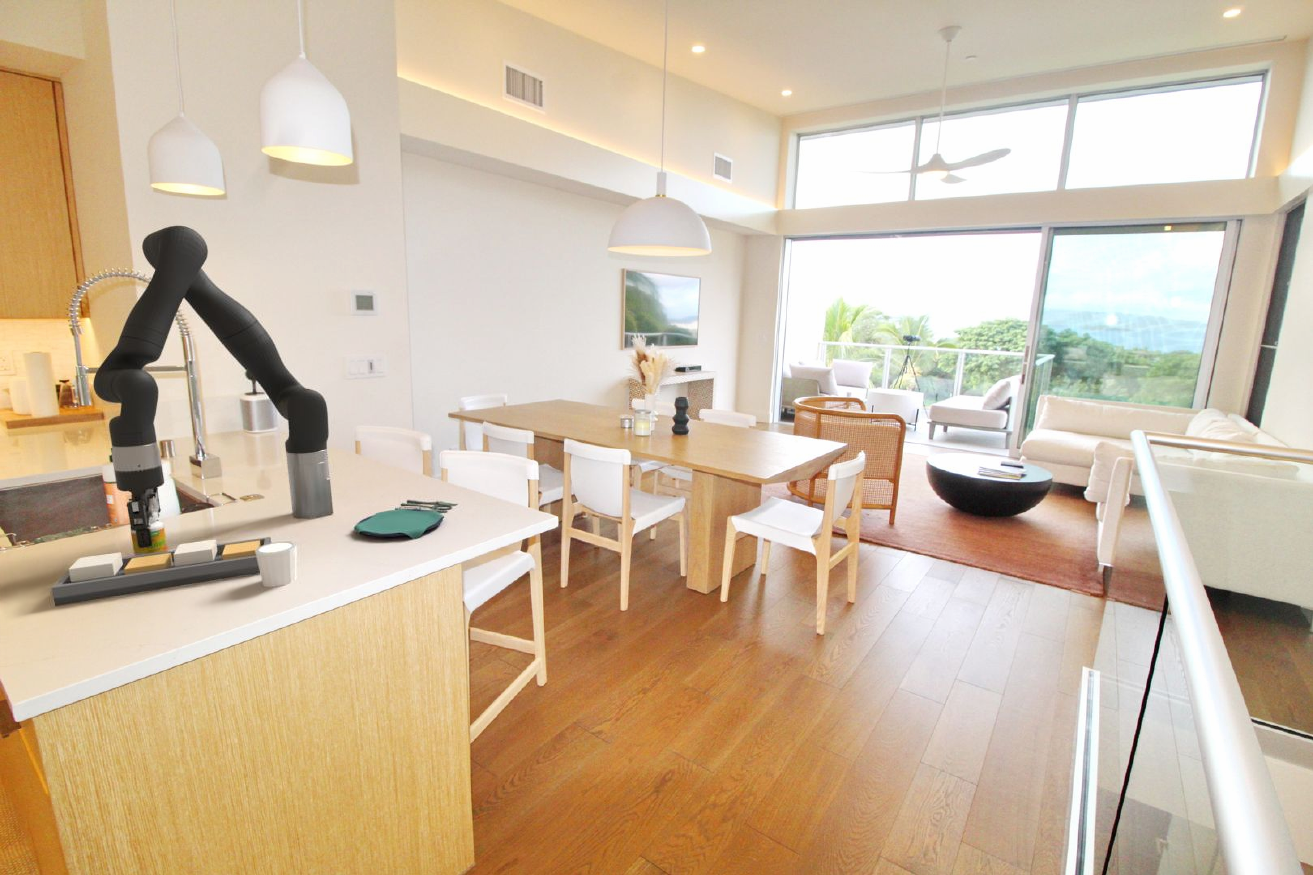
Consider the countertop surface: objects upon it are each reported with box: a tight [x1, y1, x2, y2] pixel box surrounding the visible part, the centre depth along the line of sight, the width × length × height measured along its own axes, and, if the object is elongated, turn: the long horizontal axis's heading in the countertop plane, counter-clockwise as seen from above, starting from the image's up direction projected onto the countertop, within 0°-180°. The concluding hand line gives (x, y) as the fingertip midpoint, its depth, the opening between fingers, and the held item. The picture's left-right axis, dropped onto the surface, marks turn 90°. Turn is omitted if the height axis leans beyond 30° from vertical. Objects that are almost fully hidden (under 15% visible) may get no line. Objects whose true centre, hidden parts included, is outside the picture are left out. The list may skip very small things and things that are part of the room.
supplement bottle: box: [130, 512, 168, 556], centre depth 126 cm, size 5×5×10 cm
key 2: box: [174, 539, 217, 567], centre depth 120 cm, size 6×6×2 cm
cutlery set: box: [353, 499, 459, 539], centre depth 153 cm, size 20×30×2 cm, turn 176°
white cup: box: [255, 541, 298, 588], centre depth 116 cm, size 7×7×7 cm
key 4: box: [68, 551, 123, 582], centre depth 112 cm, size 6×6×2 cm
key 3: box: [124, 553, 173, 575], centre depth 116 cm, size 6×6×2 cm
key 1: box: [222, 540, 261, 560], centre depth 123 cm, size 6×6×2 cm
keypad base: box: [51, 536, 272, 607], centre depth 118 cm, size 32×12×4 cm, turn 120°
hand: (149, 540), depth 127 cm, fingers open, 7 cm apart
